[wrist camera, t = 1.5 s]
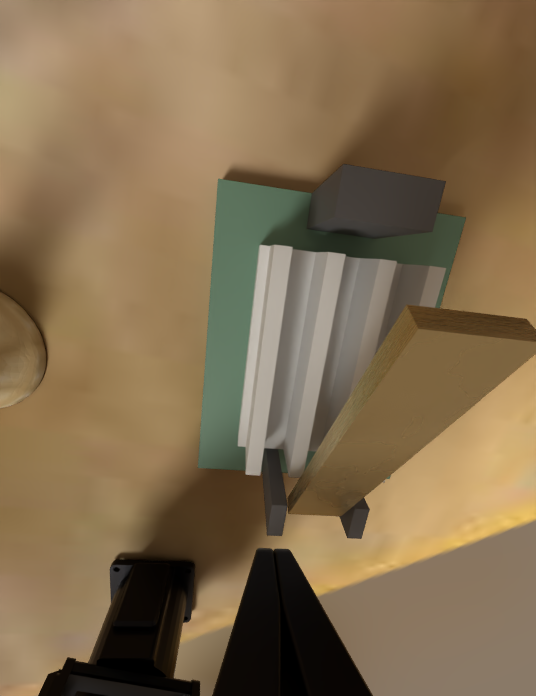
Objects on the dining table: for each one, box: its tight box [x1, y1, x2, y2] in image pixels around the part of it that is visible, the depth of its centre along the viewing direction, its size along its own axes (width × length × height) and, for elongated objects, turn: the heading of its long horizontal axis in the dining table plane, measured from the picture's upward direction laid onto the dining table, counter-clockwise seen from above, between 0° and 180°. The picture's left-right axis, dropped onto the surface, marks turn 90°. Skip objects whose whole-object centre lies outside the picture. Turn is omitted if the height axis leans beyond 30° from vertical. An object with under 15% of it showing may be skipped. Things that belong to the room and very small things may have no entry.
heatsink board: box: [198, 164, 466, 539], centre depth 17 cm, size 18×14×6 cm
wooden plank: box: [287, 304, 536, 516], centre depth 12 cm, size 14×3×1 cm
